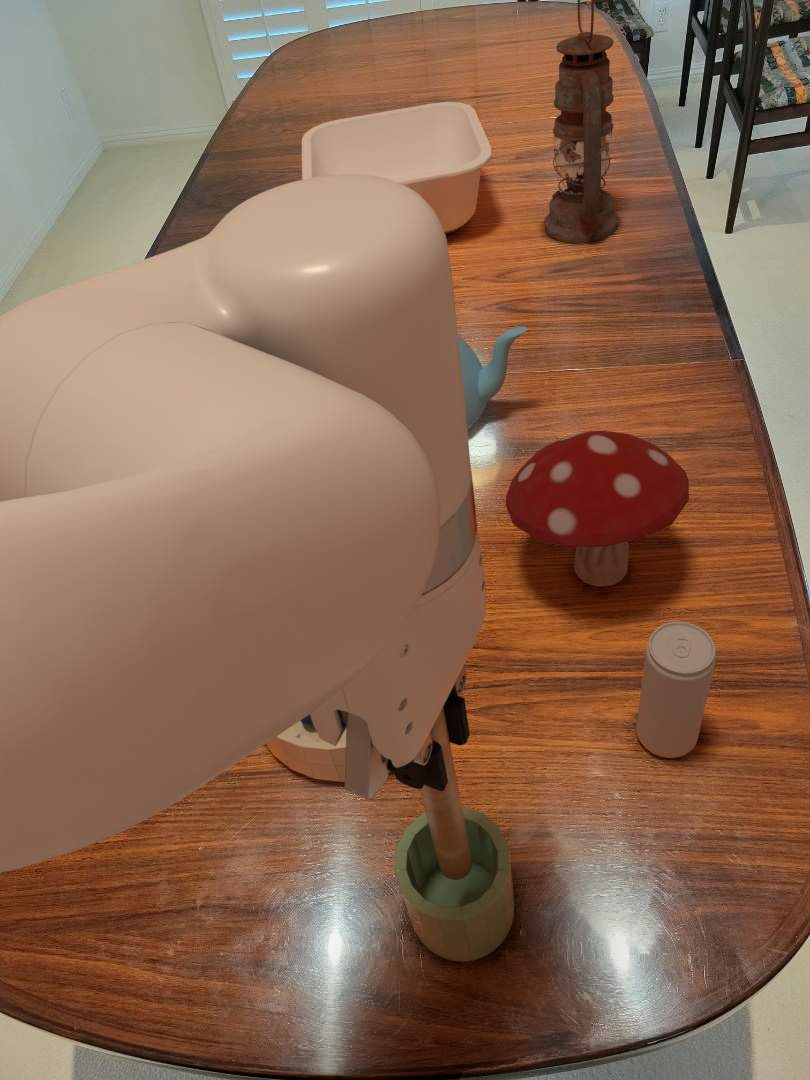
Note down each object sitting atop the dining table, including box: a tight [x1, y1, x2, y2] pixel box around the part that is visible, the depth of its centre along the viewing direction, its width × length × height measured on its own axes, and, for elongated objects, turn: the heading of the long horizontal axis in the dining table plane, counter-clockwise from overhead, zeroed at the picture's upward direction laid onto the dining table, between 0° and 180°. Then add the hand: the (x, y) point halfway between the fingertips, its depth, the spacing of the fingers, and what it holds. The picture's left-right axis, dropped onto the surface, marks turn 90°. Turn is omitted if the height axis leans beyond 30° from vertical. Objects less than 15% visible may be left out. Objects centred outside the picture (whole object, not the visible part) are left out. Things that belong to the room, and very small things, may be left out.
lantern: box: [543, 0, 619, 244], centre depth 117 cm, size 11×16×35 cm
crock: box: [393, 805, 515, 962], centre depth 58 cm, size 8×8×8 cm
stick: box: [419, 708, 472, 880], centre depth 49 cm, size 2×2×20 cm
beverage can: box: [635, 621, 717, 759], centre depth 64 cm, size 5×5×12 cm
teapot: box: [458, 326, 529, 430], centre depth 98 cm, size 17×19×12 cm
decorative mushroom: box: [505, 430, 690, 587], centre depth 77 cm, size 16×16×15 cm
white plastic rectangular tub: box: [301, 101, 493, 235], centre depth 128 cm, size 28×44×13 cm, turn 5°
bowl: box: [265, 721, 346, 783], centre depth 73 cm, size 17×17×6 cm
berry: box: [300, 714, 314, 727], centre depth 72 cm, size 2×2×2 cm
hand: (430, 753), depth 46 cm, fingers closed on stick, 2 cm apart
